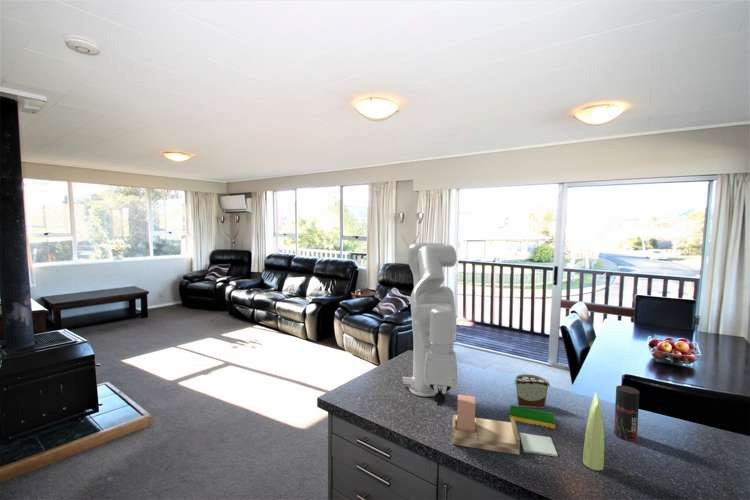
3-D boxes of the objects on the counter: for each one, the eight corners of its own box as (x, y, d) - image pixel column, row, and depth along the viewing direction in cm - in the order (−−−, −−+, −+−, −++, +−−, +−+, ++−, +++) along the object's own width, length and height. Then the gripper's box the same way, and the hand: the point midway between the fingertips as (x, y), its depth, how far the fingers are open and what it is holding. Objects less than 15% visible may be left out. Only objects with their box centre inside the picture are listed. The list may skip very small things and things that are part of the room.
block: (456, 433, 109) (457, 401, 108) (457, 424, 114) (458, 394, 113) (474, 436, 108) (475, 404, 107) (473, 427, 113) (474, 396, 112)
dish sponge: (510, 411, 127) (510, 404, 127) (553, 419, 122) (553, 412, 122) (509, 420, 121) (509, 413, 121) (554, 430, 115) (555, 422, 115)
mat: (523, 451, 103) (523, 449, 103) (519, 434, 112) (519, 432, 112) (557, 456, 101) (557, 454, 101) (550, 439, 109) (550, 437, 109)
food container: (542, 400, 135) (543, 374, 135) (548, 408, 129) (550, 381, 129) (509, 398, 136) (510, 372, 136) (514, 406, 130) (515, 379, 130)
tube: (610, 471, 95) (613, 400, 94) (594, 474, 94) (598, 401, 93) (593, 458, 100) (596, 390, 99) (577, 460, 99) (580, 392, 98)
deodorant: (630, 443, 108) (632, 395, 107) (610, 433, 113) (612, 387, 112) (640, 438, 110) (643, 391, 110) (620, 429, 116) (622, 384, 115)
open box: (451, 444, 106) (451, 429, 106) (453, 423, 118) (453, 410, 117) (519, 454, 101) (519, 439, 101) (513, 432, 113) (514, 418, 113)
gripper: (416, 348, 110) (414, 406, 111) (465, 353, 106) (464, 413, 107) (419, 341, 117) (418, 396, 118) (465, 345, 113) (464, 402, 114)
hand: (439, 404), depth 112 cm, fingers closed
